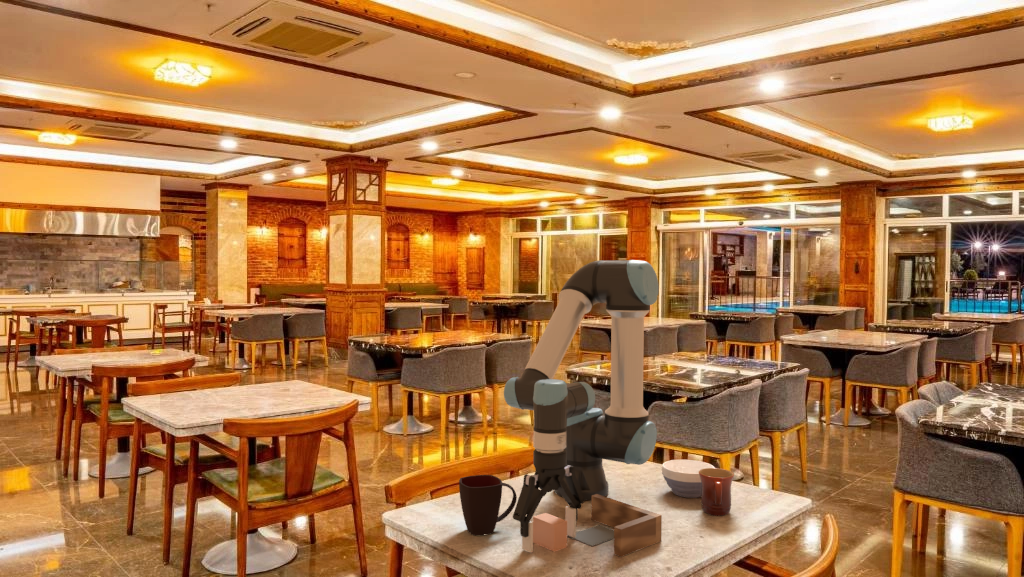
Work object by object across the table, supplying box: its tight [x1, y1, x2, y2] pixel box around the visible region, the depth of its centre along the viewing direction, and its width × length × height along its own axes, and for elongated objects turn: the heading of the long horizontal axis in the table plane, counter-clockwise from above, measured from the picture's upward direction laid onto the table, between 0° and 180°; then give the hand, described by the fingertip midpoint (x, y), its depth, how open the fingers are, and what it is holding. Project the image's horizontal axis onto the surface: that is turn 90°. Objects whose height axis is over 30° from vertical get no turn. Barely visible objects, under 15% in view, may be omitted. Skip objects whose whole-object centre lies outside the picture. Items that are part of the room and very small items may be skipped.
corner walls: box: [590, 494, 663, 558], centre depth 166 cm, size 20×14×6 cm
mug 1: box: [458, 474, 517, 536], centre depth 169 cm, size 10×14×12 cm
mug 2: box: [699, 467, 735, 517], centre depth 180 cm, size 12×9×10 cm
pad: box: [567, 524, 614, 547], centre depth 166 cm, size 8×11×1 cm
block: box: [532, 512, 568, 552], centre depth 160 cm, size 7×4×6 cm, turn 41°
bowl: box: [661, 459, 716, 499], centre depth 198 cm, size 14×14×8 cm
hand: (549, 542), depth 160 cm, fingers open, 13 cm apart
